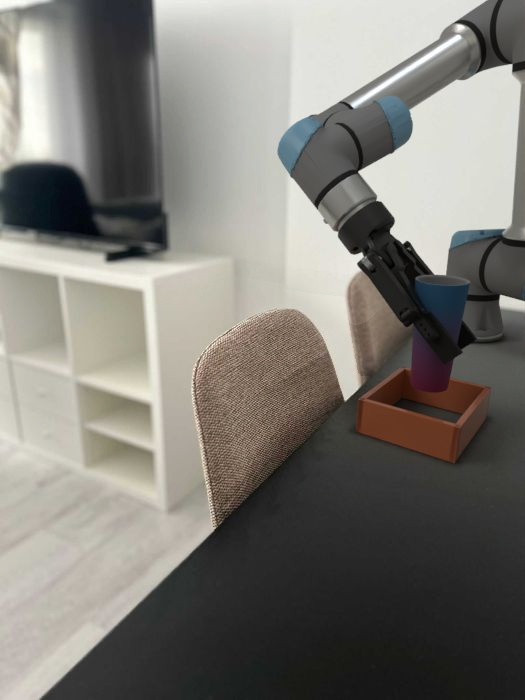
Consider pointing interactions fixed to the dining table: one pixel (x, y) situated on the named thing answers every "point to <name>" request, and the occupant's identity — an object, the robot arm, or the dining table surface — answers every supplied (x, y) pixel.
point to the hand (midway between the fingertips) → (461, 351)
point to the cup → (448, 307)
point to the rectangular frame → (420, 429)
